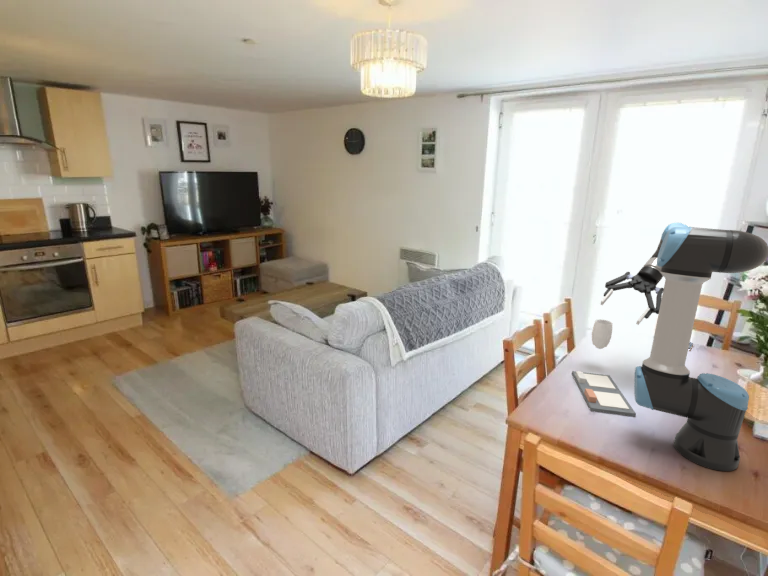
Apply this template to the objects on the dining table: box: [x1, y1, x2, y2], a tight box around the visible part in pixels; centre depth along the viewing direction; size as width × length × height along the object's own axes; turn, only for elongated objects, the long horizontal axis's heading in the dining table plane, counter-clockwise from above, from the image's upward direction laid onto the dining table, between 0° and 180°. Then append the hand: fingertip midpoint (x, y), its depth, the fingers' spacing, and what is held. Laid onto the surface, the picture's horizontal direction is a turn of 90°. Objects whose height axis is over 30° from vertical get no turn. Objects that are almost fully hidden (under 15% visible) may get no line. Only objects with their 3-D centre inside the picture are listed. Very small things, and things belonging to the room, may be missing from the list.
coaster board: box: [571, 370, 637, 418], centre depth 151 cm, size 28×14×3 cm, turn 168°
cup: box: [591, 319, 613, 350], centre depth 169 cm, size 7×7×21 cm
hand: (619, 312), depth 151 cm, fingers open, 13 cm apart
